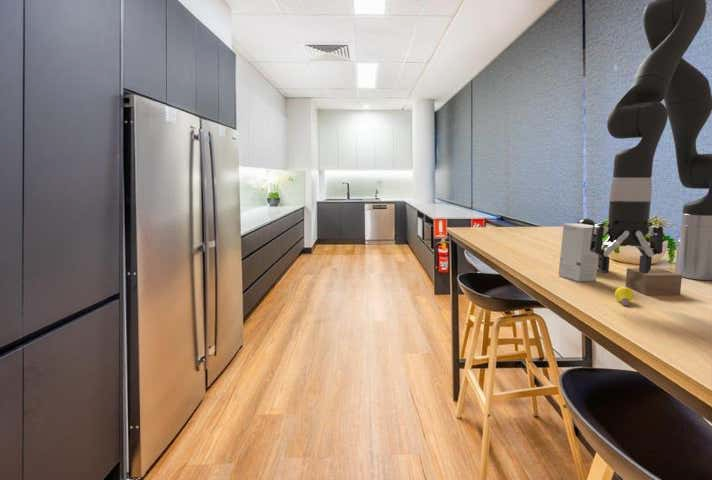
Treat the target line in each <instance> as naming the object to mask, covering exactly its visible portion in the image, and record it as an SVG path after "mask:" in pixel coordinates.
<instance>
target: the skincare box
mask: <svg viewBox="0 0 712 480" xmlns="http://www.w3.org/2000/svg"><path fill="white" fill-rule="evenodd" d="M562 228H563V229H562V236H561V246H560V247H561V248H560V255H559V257H560V258H559V264H558V265H559V266H558V276H560V277H562V278H565V279H569V280H573V281H574V282H575V281H576V282H579V283H580V282H596V281H597V276H598V275H597V274H598V258H599V255H598V254H596V253H594V252H591V251H590V244H591V237H592V230H593V226H592V225H586V224H577V223H563V226H562Z"/></svg>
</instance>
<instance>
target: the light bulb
mask: <svg viewBox="0 0 712 480" xmlns="http://www.w3.org/2000/svg"><path fill="white" fill-rule="evenodd" d="M614 297H615V298H616V300H617V301H618V302H620V303H621V305H622V306H624V307H628V306H629V305H630V302H631V301H632V299H633V298H634V293H633V290H632V289H629V288H627V287H626V286H620V287H618V288H617V289H616V290H615V292H614Z"/></svg>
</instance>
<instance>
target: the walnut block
mask: <svg viewBox="0 0 712 480" xmlns="http://www.w3.org/2000/svg"><path fill="white" fill-rule="evenodd" d="M682 280H683V277H682V275H680V274H677V273H675V271H674V272H673V271H669V270H667V269H663V268H661V267H660V268H659V267H651V269H650V271H648V273H647V274H644V273H641V272H639V267H637V268H636V267H631V268H630V267H627V268H626V278H625V287H627V288H629V289H630V290H632V291H634V292H637V293H638V294H639V293H640V294H642V295H644V296H681V291H682Z"/></svg>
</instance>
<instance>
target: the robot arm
mask: <svg viewBox="0 0 712 480" xmlns="http://www.w3.org/2000/svg"><path fill="white" fill-rule="evenodd" d="M706 14H707V1H706V0H652V1H651V2H649V3H648V4H647V5H645V8H644V10H643V15H642V22H643V28H644V33H645V36H646V39H647V43H648V45H649V48H650V52H649V54H648V55H647V56H646V57H645V58H644V59H643V60H642V62H641V63H640V65H639V66H638V67H637V69H636V72H635V73H634V76H633V79H632V82H631V84H630V87H629V88H628V90H627V91H626V92H624V94H623V96H622V97H621V98H620V99H619V100H618V102H616V104H615V105H614V106H613V108H612V110H611V111H610V113H609V116H608V118H607V123H606V128H607V131H608V133H609V134H610V136H611V137H613V138H614V139H618V140H619V139H620V140H621V139H637V138H640V141H639V142H638V143H637V144H636V145H635V146H633V147H632V148H631V147H630V148H627V149H622V150H620V151H617V152H616V154H615V155H614V159H613V171H612V172H613V173H612V174H613V175H612V182H611V184H610V191H609V192H610V193H609V196H610V197H609V206H608V216H607V217H608V224H607V226H603V227H602V226H597V225H595V226H593V230H592V237H591V244H590V251H591V252H594V253H596V254H598V255H599V262H598V267H597V270H599V272H600V273H602V274H609V270H610V255H611V253H612V252H613V251H614V250H616V249H618V247H627V246H629V247H630V246H631V247H635V248H637V250H638V251H639V253H640V254H641V255H640V256H639V266H638V268H639V272H641V273H644V274H647V273H648V271H650V269H651V268H652V260H653V259H652V258H653V256H655V255H660V254H662V253H663V243H664V242H663V241H664V239H663V238H664V228H663V226H659V225H651V226H649V225H648V223H649V221H650V215H651V214H650V211H651V203H652V192H653V187H652V173H653V165H654V157H655V153H656V152H657V151H656V150H657V148H658V145H659V142H660V139H661V137H662V135H663V133H664V130H665V129H666V126H667V123H668V121H669V124H670V127H671V128H670V129H671V133H672V137H673V143H674V147H675V148H674V149H675V158H676V165H677V166H676V167H677V174H678V179H679V182H680V183H681V185H682V187H685V188H687V189H692V190H693V189H698V190H700V189H701V190H705V189H706V190H708V191H707V194H706V195H704V196H703V197H701V198H700V199H696V200H692V201H689V202H686V203H685V204H684V205H683V207H682V217H681V228H680V238H679V239H678V241H677V248H676V257H675V259H676V260H675V266H674V267H675V269H674V273H677V274H680V275H682V278H687V279H691V280H692V279H693V280H701V281H702V280H703V281H704V280H705V281H712V153H698V151H697V139H698V136H699V134H700V133H701V131H702V129H703V128H704V126H705V125H706V123H707V121H708V119H709V117H710V115H711V114H712V90H711V85H710V82H709V79H708V78H707V77H706V76H705V75H704V74H703V73H702V72H701V71H700V70H699V69H697V68H696V67H695V66H694V65H692V64H691V63H689V62H688V61H687V60H686V59H685V58H683V56H685V53H686V52H687V51H688V49H689V48H690V46H691V44H692V43H693V40H694V39H695V37H696V36H697V34H698V32H699V31H700V29H701V27H702V25H703V23H704V20H705V19H706ZM663 101H664V103H663ZM606 234H607V235H608V237H607V238H606V240H604V241H603V239H604V237H605V236H606ZM647 235H648V236H649V242H648V241H647V240H646V238H645V237H646V236H647ZM602 241H603V246H602Z"/></svg>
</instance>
